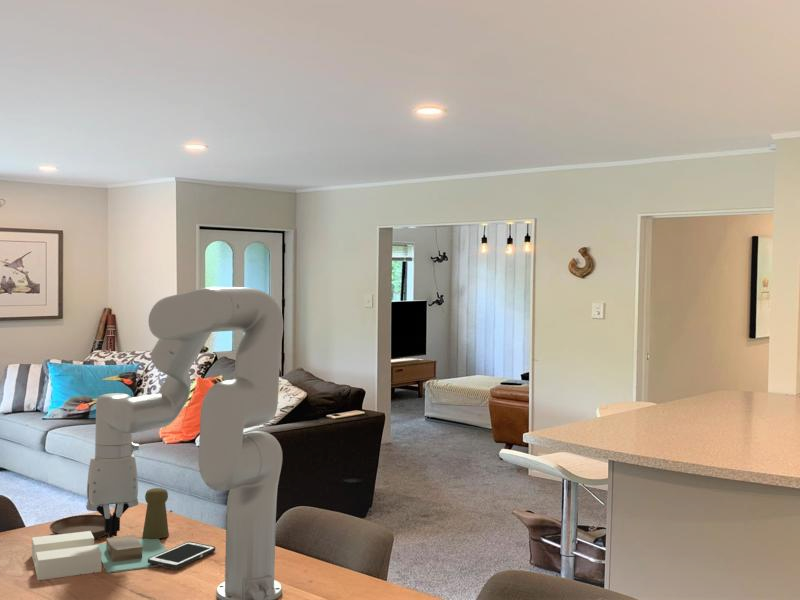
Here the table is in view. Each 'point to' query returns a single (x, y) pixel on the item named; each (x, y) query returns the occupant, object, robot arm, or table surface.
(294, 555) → the table surface
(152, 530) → the pepper mill
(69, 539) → the slotted block
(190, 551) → the cell phone
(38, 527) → the table surface
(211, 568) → the table surface
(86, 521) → the saucer
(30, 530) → the table surface
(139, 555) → the brown flat block
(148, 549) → the mat
